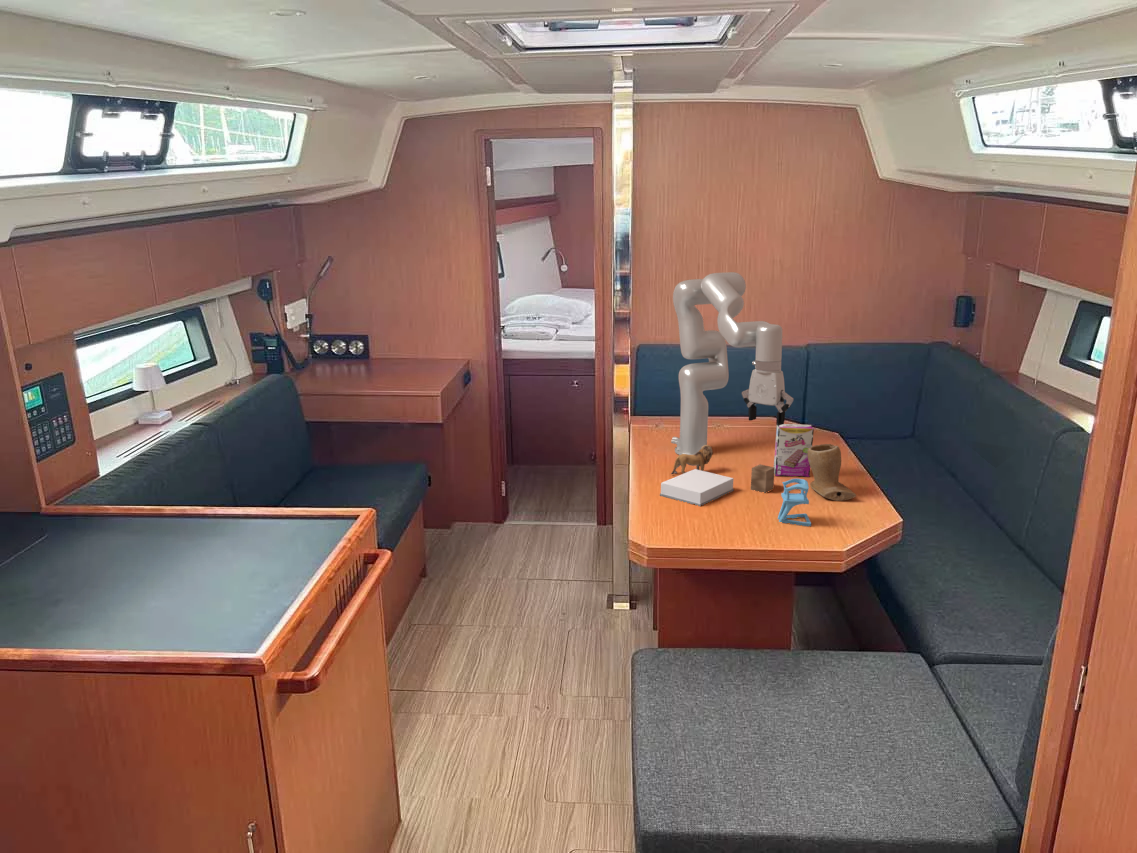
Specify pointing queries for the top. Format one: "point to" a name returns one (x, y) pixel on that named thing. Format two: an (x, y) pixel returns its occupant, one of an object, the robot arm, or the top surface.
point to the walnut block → (762, 478)
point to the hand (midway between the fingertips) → (766, 422)
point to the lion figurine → (694, 459)
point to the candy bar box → (793, 450)
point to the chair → (794, 502)
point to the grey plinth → (697, 487)
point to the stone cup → (827, 472)
